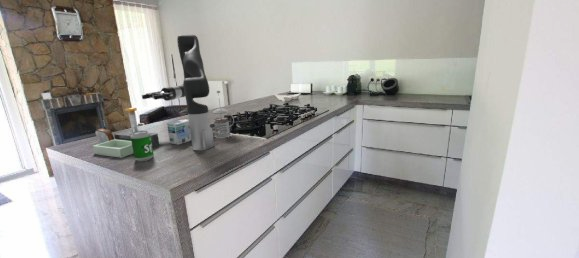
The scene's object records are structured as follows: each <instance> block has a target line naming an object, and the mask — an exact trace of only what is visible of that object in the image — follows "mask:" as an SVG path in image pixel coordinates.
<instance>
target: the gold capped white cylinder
mask: <svg viewBox="0 0 579 258" xmlns="http://www.w3.org/2000/svg"><path fill="white" fill-rule="evenodd" d="M137 110H138V109H137V107H129V108H125V112H128V118H129V123H130V127H131V128H130V129H131V131H132V133H134V132H137V131H139V126H138V121H137V116H136V111H137Z"/></svg>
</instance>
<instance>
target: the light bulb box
mask: <svg viewBox="0 0 579 258" xmlns="http://www.w3.org/2000/svg"><path fill="white" fill-rule="evenodd" d="M166 126H167V131H168V132H167V133H168V137H169V138H168V139H169V143H170V144H172V145H182V144H184V143H188V142H190V141H191V134H190V127H189V119H185V118H184V119H178V120H175V121H172V122H167V123H166Z"/></svg>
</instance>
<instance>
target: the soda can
mask: <svg viewBox="0 0 579 258" xmlns="http://www.w3.org/2000/svg"><path fill="white" fill-rule="evenodd" d="M150 133H151V132H149V131H148V130H138V131H137V132H134V133H132V135H131V136H130V137H131V142H132V147H133V152H134V153H133V155H134V156H133V157H134V160H136V161H137V162H148V161H150V160H151V159H152V158H153V157H154V155H155V153H154V149H153V148H154V147H153V148H152V142H151V136H150Z"/></svg>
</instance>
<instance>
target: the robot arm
mask: <svg viewBox="0 0 579 258" xmlns="http://www.w3.org/2000/svg"><path fill="white" fill-rule="evenodd" d="M176 41H177V48H178V52H179V57H180V63H181V65H182V69H183V77H184V79H183V84H180V85H174V86H166V87H165V86H164V87H163V88H161V90H160V91H159V90H158V91H153V92H148V93H145V94H142V95H141V98H142V100H147V99H148V100H149V99H153V100H164V101H166V102H168V101H173V100H178V99H181V98H185V101H186V102H185V103H186V110H187V117H188V119H187V120H189V127H190V134H191V149H192V151H193V150H194V151H208V150H211V148H213V147H215V143H214V134H213V127H211V123H210V114H209V107H208V105H206V104H202V103H199V102H196V101H195V100H194V99H201V98H206V97H208V96H209V94H210V85H209V81H208V79H207V75H206V73H205V67H204V62H203V59H202V54H201V50H200V43H199V39H198V37H197V35H195V34H179V35H177V40H176Z"/></svg>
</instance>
